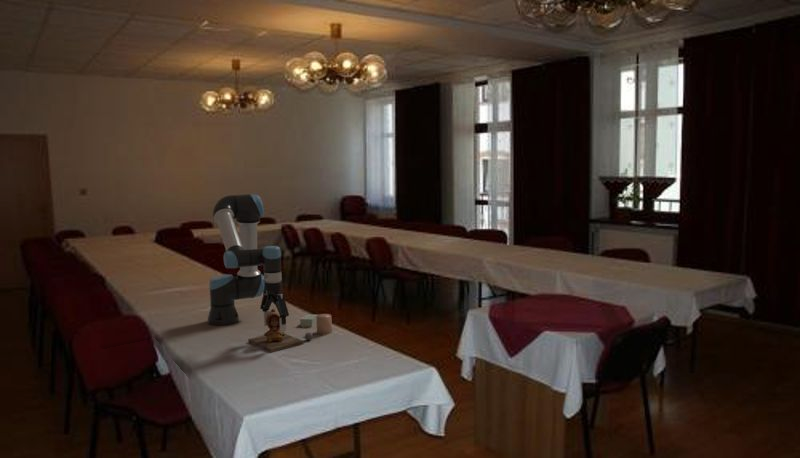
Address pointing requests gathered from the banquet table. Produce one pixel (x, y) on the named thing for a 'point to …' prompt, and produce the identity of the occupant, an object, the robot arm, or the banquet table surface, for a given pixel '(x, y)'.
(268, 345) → the board
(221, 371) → the banquet table surface
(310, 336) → the ball
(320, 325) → the brown rounded cylinder
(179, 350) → the banquet table surface
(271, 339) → the figurine
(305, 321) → the block
